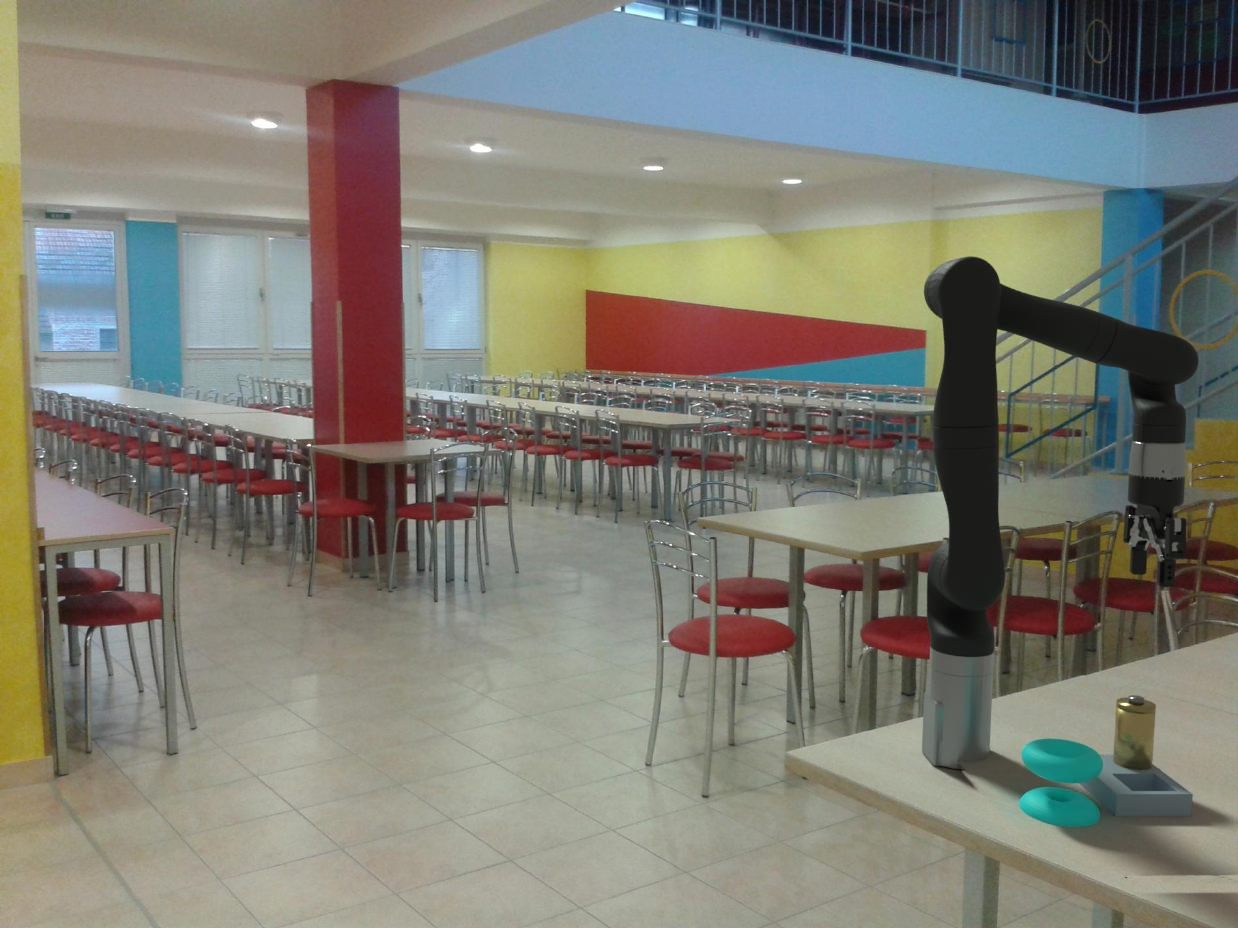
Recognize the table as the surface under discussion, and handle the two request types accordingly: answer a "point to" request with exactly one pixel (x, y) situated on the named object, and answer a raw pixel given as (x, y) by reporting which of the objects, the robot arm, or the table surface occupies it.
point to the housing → (1139, 792)
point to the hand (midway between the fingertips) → (1151, 580)
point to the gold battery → (1134, 733)
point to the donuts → (1062, 766)
